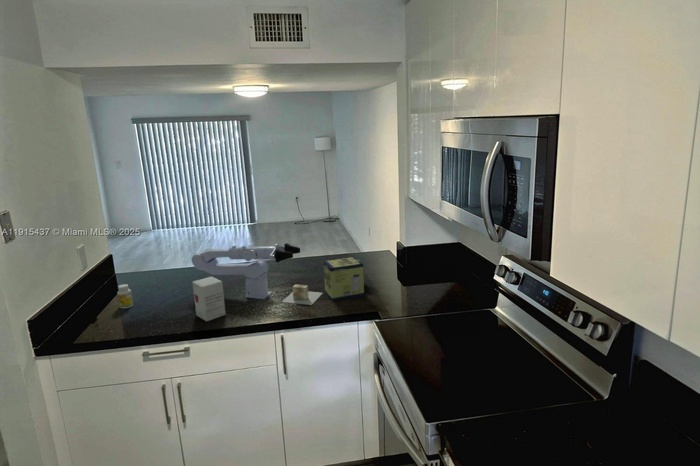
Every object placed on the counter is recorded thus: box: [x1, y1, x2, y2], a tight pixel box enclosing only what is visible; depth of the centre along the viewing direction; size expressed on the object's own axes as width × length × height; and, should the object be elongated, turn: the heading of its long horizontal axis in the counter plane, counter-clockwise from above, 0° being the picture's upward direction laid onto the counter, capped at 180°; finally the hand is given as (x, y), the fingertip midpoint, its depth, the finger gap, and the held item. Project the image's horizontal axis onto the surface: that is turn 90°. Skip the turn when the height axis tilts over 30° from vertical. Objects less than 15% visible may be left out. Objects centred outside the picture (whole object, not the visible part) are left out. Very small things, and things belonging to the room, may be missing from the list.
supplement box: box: [192, 276, 226, 322], centre depth 186 cm, size 9×9×15 cm
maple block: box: [292, 283, 309, 301], centre depth 200 cm, size 6×3×6 cm, turn 73°
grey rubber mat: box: [281, 290, 323, 306], centre depth 203 cm, size 14×14×1 cm
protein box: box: [323, 256, 365, 301], centre depth 203 cm, size 10×16×16 cm
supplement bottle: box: [116, 283, 134, 309], centre depth 198 cm, size 5×5×10 cm
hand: (296, 252), depth 196 cm, fingers open, 7 cm apart
